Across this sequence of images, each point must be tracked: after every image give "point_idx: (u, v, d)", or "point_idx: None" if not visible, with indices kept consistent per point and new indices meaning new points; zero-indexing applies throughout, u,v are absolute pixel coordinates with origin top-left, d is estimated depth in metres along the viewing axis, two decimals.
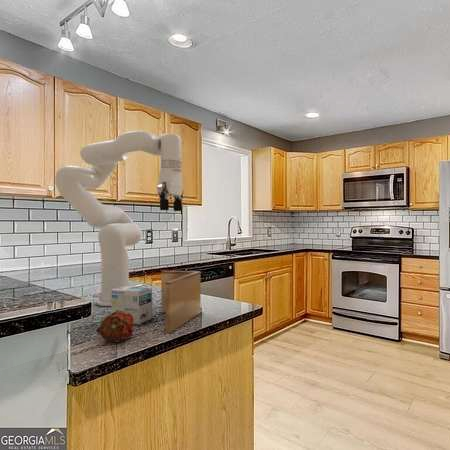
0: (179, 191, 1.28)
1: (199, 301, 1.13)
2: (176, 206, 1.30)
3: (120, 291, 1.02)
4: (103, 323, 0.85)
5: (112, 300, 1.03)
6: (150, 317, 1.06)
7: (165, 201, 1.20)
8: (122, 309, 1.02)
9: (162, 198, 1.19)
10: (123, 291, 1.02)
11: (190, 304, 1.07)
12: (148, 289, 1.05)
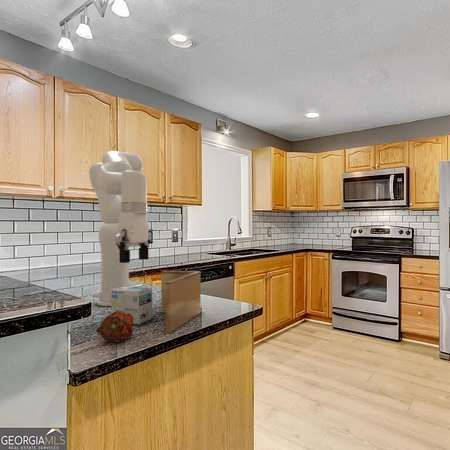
0: (145, 237, 1.08)
1: (199, 301, 1.13)
2: (142, 254, 1.10)
3: (120, 291, 1.02)
4: (103, 323, 0.85)
5: (112, 300, 1.03)
6: (150, 317, 1.06)
7: (125, 252, 1.00)
8: (122, 309, 1.02)
9: (121, 249, 1.00)
10: (123, 291, 1.02)
11: (190, 304, 1.07)
12: (148, 289, 1.05)
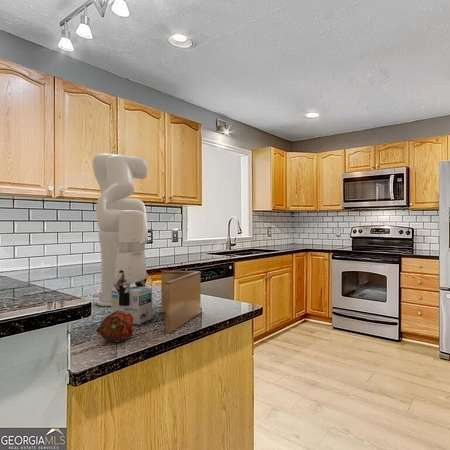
0: (142, 276, 1.07)
1: (199, 301, 1.13)
2: None
3: None
4: (103, 323, 0.85)
5: (112, 300, 1.03)
6: (150, 317, 1.06)
7: (125, 295, 1.01)
8: (122, 309, 1.02)
9: (121, 292, 1.00)
10: None
11: (190, 304, 1.07)
12: (148, 289, 1.05)
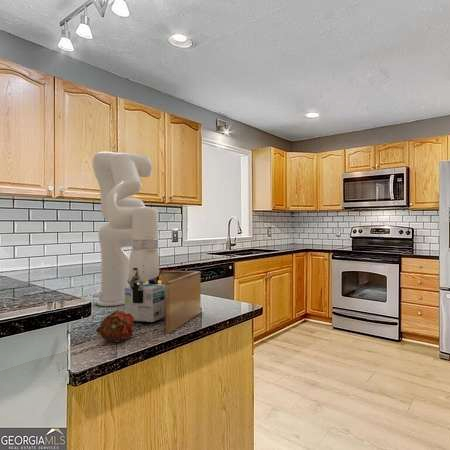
0: (156, 273, 1.07)
1: (199, 301, 1.13)
2: None
3: None
4: (103, 323, 0.85)
5: (125, 297, 1.02)
6: (163, 315, 1.06)
7: (138, 293, 1.00)
8: (136, 307, 1.02)
9: (135, 290, 1.00)
10: None
11: (190, 304, 1.07)
12: (161, 287, 1.05)
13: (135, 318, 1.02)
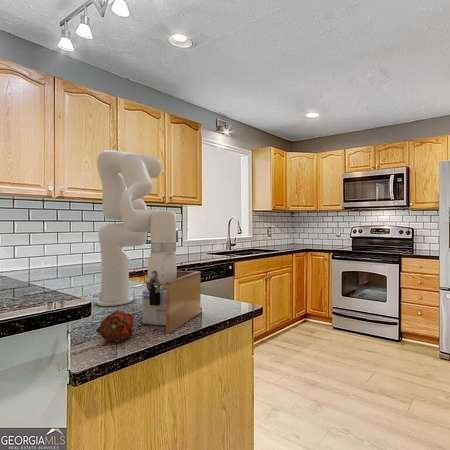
0: (173, 276, 1.06)
1: (199, 301, 1.13)
2: None
3: None
4: (103, 323, 0.85)
5: (144, 301, 1.02)
6: None
7: (156, 295, 0.98)
8: (154, 310, 1.01)
9: (152, 292, 0.98)
10: None
11: (190, 304, 1.07)
12: None
13: (154, 322, 1.01)
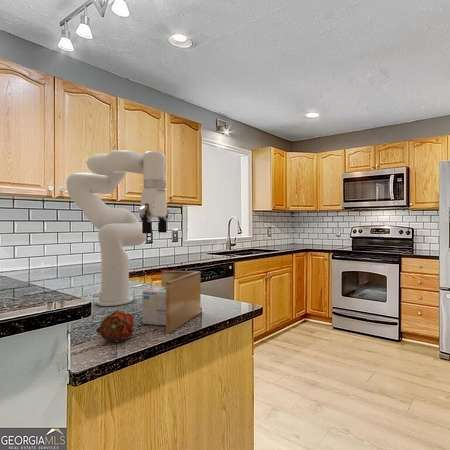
0: (164, 212, 1.20)
1: (199, 301, 1.13)
2: (161, 227, 1.22)
3: (152, 292, 1.01)
4: (103, 323, 0.85)
5: (144, 301, 1.02)
6: None
7: (147, 224, 1.12)
8: (154, 310, 1.01)
9: (144, 221, 1.12)
10: (155, 292, 1.01)
11: (190, 304, 1.07)
12: None
13: (154, 322, 1.01)
